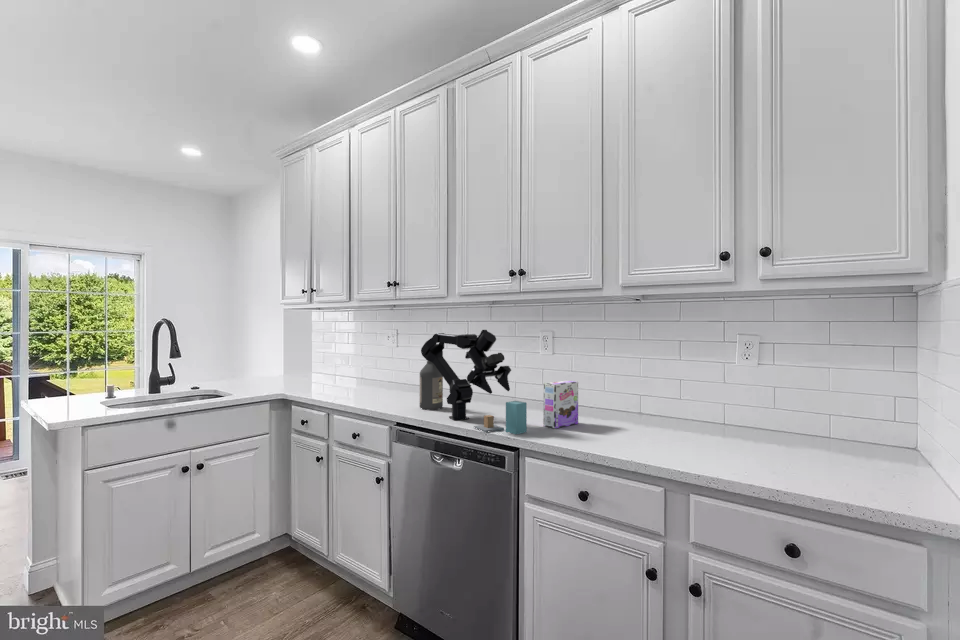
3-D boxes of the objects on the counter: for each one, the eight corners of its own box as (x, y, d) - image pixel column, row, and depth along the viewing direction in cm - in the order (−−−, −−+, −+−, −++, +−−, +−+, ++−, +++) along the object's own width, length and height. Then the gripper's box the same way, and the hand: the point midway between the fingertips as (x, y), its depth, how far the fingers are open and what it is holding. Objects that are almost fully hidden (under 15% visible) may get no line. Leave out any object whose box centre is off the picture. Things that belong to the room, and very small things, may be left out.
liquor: (417, 409, 211) (417, 342, 211) (426, 405, 219) (426, 341, 220) (436, 410, 208) (436, 342, 208) (444, 406, 217) (444, 341, 217)
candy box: (554, 429, 172) (554, 384, 172) (542, 426, 176) (542, 382, 176) (578, 424, 180) (578, 381, 180) (567, 421, 185) (566, 379, 185)
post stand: (473, 428, 173) (473, 415, 173) (491, 425, 177) (491, 413, 177) (485, 432, 166) (485, 419, 166) (504, 429, 170) (504, 416, 170)
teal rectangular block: (505, 431, 167) (505, 402, 167) (515, 429, 171) (515, 400, 171) (516, 434, 163) (516, 404, 163) (526, 432, 167) (526, 402, 167)
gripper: (472, 346, 171) (493, 379, 162) (507, 345, 183) (529, 375, 175) (458, 366, 176) (477, 399, 168) (493, 363, 189) (513, 394, 181)
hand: (500, 391), depth 173 cm, fingers open, 9 cm apart
